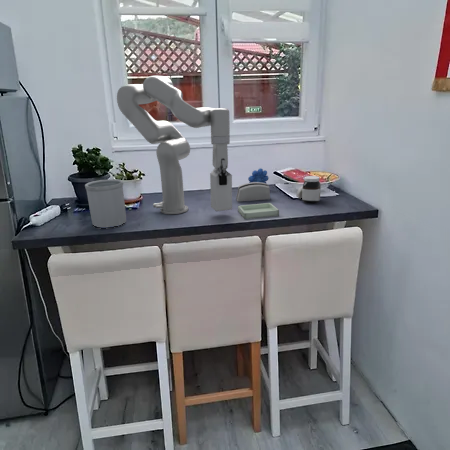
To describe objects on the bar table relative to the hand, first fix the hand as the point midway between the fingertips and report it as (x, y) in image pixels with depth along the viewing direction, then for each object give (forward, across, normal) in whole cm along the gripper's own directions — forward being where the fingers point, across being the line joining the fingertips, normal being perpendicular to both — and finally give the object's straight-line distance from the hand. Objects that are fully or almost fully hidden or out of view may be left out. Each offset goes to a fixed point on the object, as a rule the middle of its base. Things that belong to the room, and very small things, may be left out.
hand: (221, 182), depth 164 cm
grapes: (+15, -37, +27) cm, 48 cm away
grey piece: (+15, -21, +20) cm, 32 cm away
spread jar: (+14, -10, +44) cm, 47 cm away
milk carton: (+12, 0, 0) cm, 12 cm away
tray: (+14, +2, +16) cm, 21 cm away
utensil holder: (+16, -4, -47) cm, 50 cm away
